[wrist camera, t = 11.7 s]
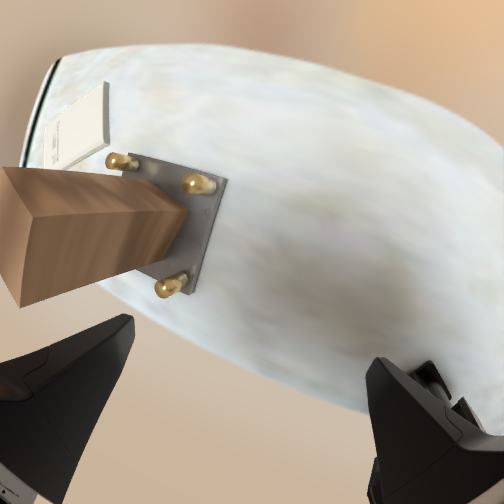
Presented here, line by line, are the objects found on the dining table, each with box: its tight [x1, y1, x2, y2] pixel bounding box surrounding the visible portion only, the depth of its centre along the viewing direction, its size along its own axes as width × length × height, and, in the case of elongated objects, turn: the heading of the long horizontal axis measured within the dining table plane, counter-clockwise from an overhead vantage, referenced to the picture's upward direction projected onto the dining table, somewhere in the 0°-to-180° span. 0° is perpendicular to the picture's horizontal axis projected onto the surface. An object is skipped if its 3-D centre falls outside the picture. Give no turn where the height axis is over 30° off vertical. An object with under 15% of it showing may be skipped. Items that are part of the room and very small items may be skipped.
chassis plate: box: [105, 152, 227, 298], centre depth 21 cm, size 10×10×4 cm
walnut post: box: [0, 167, 190, 308], centre depth 15 cm, size 5×5×14 cm
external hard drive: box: [43, 81, 110, 170], centre depth 25 cm, size 2×8×12 cm
